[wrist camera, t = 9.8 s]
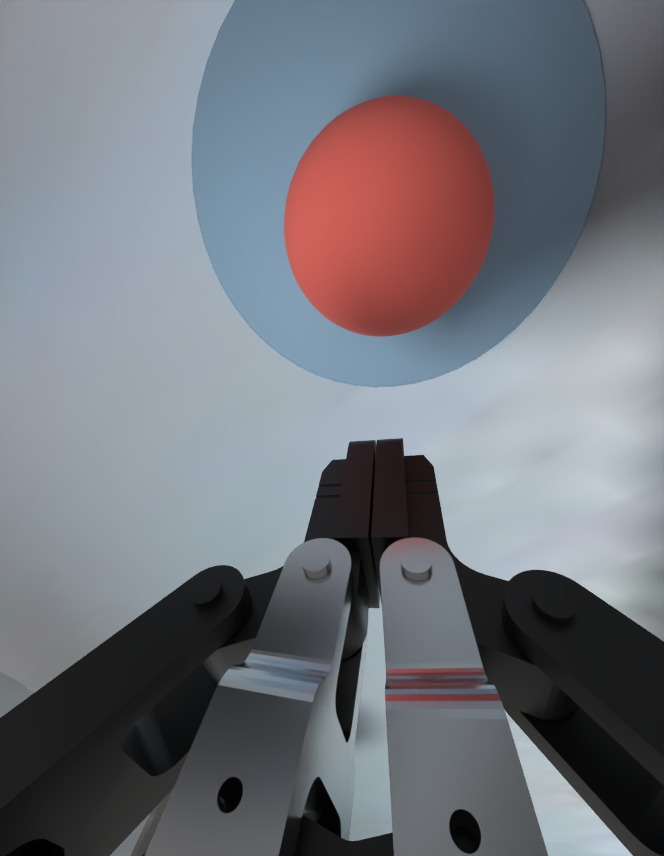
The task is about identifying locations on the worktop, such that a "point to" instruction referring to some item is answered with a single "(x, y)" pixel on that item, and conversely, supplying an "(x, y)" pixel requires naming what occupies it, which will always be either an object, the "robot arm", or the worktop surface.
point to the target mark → (398, 76)
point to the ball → (389, 216)
